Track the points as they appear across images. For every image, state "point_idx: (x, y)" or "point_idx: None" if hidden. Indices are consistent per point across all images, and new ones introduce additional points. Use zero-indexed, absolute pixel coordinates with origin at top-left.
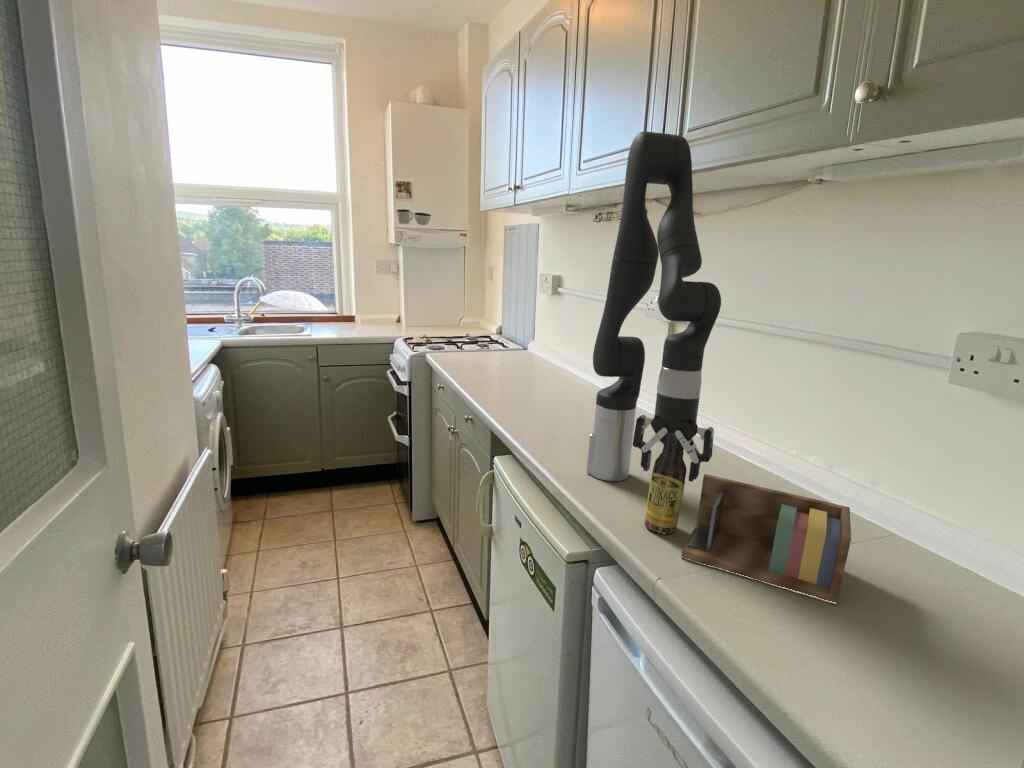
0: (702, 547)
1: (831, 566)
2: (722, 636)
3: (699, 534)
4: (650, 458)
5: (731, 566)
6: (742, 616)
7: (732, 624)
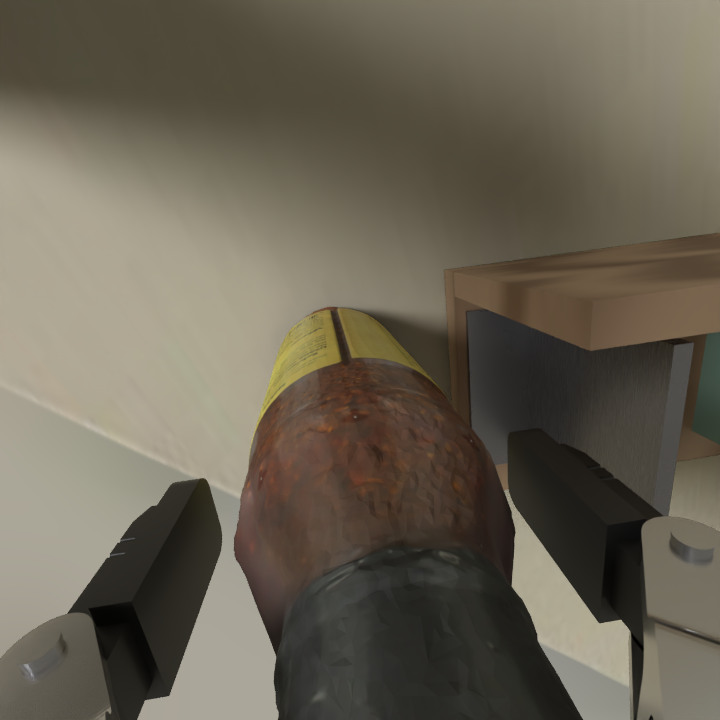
0: None
1: None
2: (590, 654)
3: (487, 379)
4: (173, 543)
5: None
6: None
7: None
